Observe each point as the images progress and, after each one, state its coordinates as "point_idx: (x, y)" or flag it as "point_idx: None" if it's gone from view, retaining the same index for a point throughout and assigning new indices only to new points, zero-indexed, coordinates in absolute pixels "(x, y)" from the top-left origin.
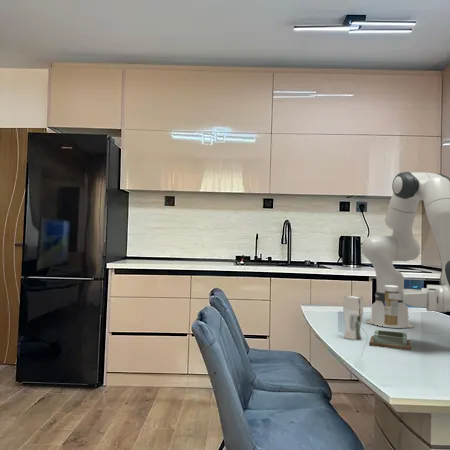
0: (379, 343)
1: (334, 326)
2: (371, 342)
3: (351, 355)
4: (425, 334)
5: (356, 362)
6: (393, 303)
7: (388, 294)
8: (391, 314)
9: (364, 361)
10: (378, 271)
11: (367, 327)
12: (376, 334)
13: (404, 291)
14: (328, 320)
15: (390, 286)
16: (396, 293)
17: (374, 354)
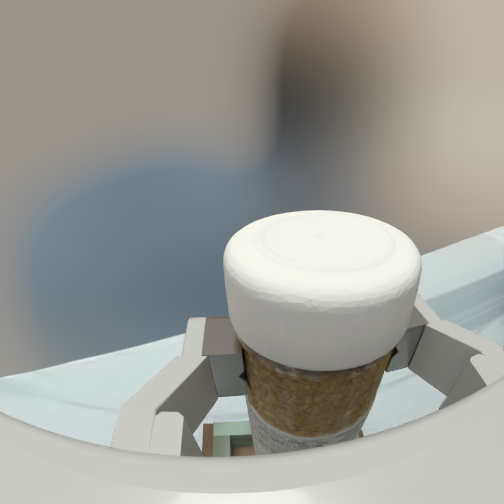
0: (207, 455)
1: (420, 295)
2: (210, 430)
3: (65, 383)
4: None
5: (18, 385)
6: (251, 420)
7: (190, 322)
8: (254, 448)
9: (23, 401)
10: None
11: (493, 339)
12: (230, 431)
13: (254, 474)
14: (462, 270)
15: (229, 243)
16: (283, 377)
17: (84, 435)
